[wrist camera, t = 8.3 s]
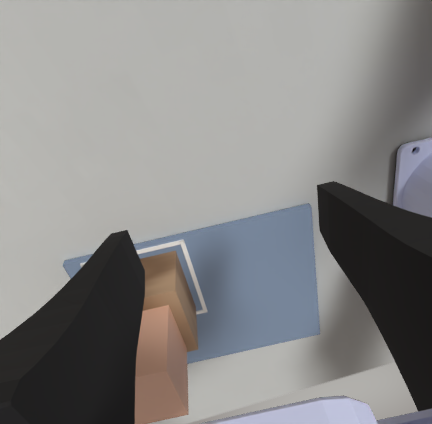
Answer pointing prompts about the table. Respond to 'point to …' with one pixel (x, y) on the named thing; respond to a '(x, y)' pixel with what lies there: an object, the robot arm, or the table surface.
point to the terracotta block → (160, 368)
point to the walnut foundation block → (171, 293)
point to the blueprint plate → (245, 280)
